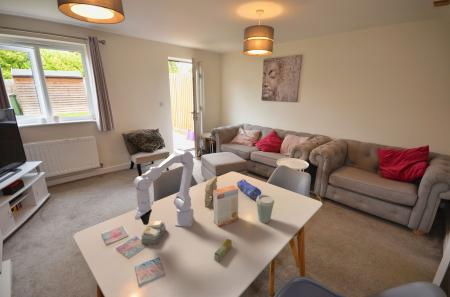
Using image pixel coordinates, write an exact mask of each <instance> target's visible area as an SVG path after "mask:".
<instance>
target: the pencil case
mask: <svg viewBox="0 0 450 297" xmlns="http://www.w3.org/2000/svg"><path fill="white" fill-rule="evenodd" d="M236 184H237V185H236V186H237V188H238V190H241V192H243V193H244V194H245V195H246V196H248V197H249V198H251V199H252V200H254V201H256V199H257V197H258V196H259V195H261V194H262V191H261V189H260V188H259V187H257V186H255V185H252V184H251V183H249V182H248V181H247V180H246V179H241V180H238V181H237V182H236Z"/></svg>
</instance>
